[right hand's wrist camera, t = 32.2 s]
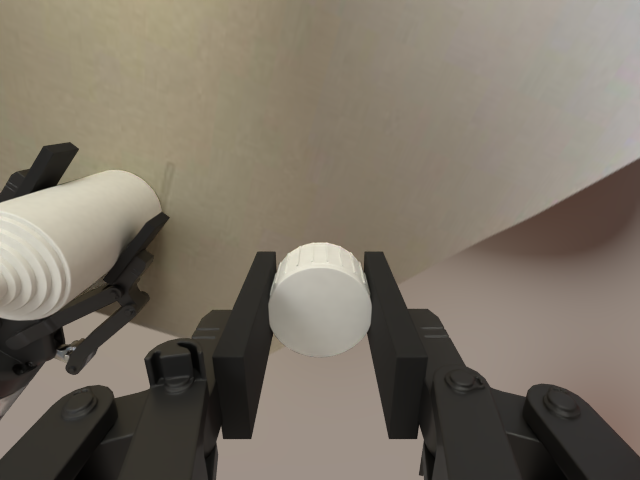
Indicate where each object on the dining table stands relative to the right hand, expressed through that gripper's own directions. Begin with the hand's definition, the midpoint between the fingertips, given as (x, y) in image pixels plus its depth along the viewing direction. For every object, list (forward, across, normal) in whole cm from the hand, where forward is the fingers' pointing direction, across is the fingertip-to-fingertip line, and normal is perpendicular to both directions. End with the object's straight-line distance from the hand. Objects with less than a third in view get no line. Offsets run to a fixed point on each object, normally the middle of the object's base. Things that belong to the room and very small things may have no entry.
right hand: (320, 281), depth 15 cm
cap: (-2, 0, 0) cm, 2 cm away
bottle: (+19, -19, -2) cm, 27 cm away
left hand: (+13, -16, +2) cm, 20 cm away
